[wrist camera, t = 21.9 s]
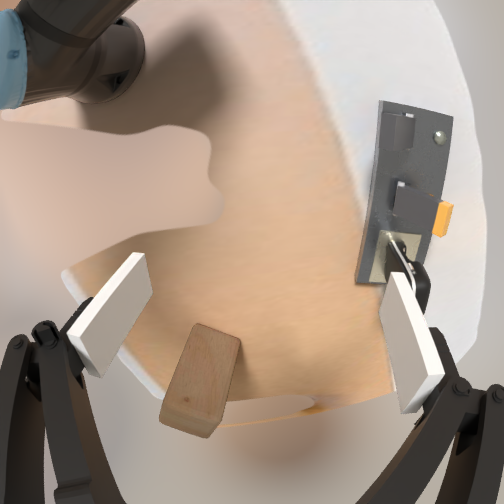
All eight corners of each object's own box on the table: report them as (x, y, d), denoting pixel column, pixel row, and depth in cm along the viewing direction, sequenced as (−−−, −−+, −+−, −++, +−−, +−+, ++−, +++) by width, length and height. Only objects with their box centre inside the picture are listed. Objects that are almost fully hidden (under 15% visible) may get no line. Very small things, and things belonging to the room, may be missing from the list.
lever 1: (401, 147, 34) (377, 151, 29) (404, 112, 32) (381, 108, 26) (413, 150, 33) (392, 154, 28) (417, 115, 30) (396, 111, 25)
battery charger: (405, 276, 43) (426, 324, 34) (383, 278, 44) (400, 327, 34) (409, 238, 40) (436, 282, 30) (387, 239, 41) (409, 284, 31)
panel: (354, 275, 47) (356, 283, 45) (379, 100, 33) (383, 100, 31) (412, 278, 46) (416, 287, 44) (447, 115, 32) (454, 117, 30)
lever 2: (389, 214, 38) (439, 240, 32) (395, 181, 35) (449, 204, 29) (396, 212, 39) (445, 236, 32) (401, 180, 36) (454, 202, 30)
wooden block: (195, 320, 58) (162, 402, 41) (242, 337, 58) (221, 423, 41) (186, 348, 63) (156, 423, 46) (228, 364, 63) (208, 441, 46)
